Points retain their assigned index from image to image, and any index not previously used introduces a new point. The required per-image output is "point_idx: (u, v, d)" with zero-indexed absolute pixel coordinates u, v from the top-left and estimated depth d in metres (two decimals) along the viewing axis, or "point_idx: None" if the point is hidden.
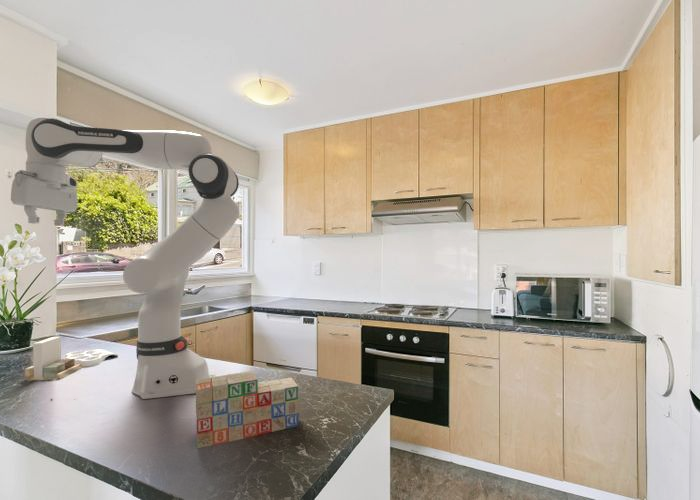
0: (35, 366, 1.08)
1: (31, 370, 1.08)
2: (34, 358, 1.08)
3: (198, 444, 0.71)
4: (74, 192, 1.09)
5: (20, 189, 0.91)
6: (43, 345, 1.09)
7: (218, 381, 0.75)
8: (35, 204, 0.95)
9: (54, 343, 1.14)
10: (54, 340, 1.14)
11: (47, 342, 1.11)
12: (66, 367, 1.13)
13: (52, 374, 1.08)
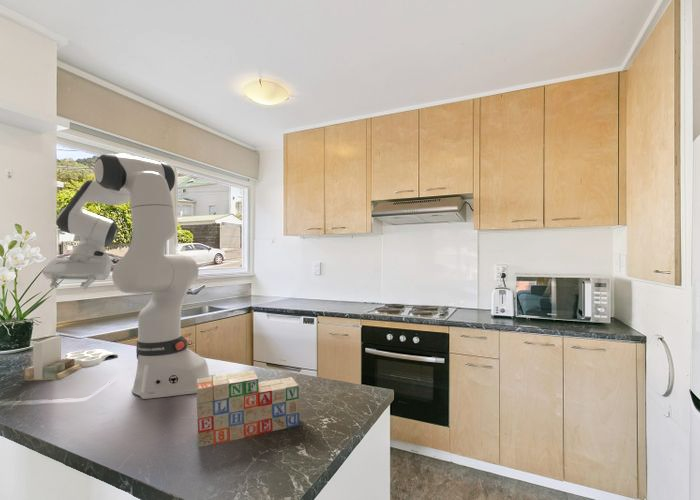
0: (35, 366, 1.08)
1: (31, 370, 1.08)
2: (34, 358, 1.08)
3: (199, 443, 0.72)
4: (102, 260, 1.30)
5: None
6: (43, 345, 1.09)
7: (219, 381, 0.75)
8: (52, 272, 1.24)
9: (54, 343, 1.14)
10: (54, 340, 1.14)
11: (47, 342, 1.11)
12: (66, 367, 1.13)
13: (52, 374, 1.08)
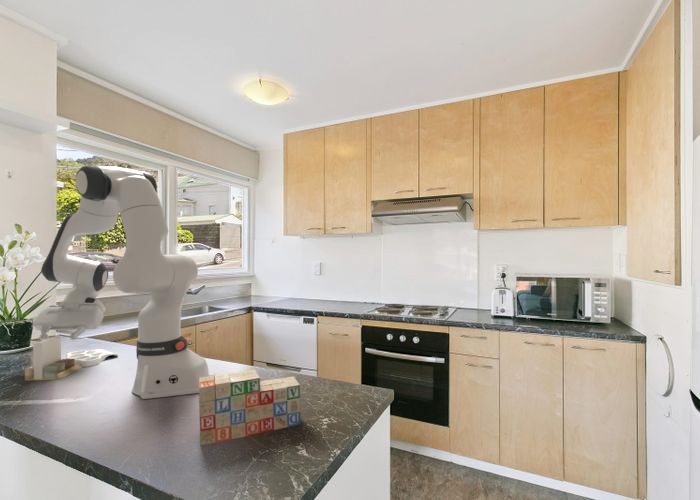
0: (35, 366, 1.08)
1: (31, 370, 1.08)
2: (34, 358, 1.08)
3: (201, 441, 0.72)
4: (93, 308, 1.23)
5: None
6: (43, 345, 1.09)
7: (221, 380, 0.75)
8: (42, 324, 1.18)
9: (54, 343, 1.14)
10: (54, 340, 1.14)
11: (47, 342, 1.11)
12: (66, 367, 1.13)
13: (52, 374, 1.08)
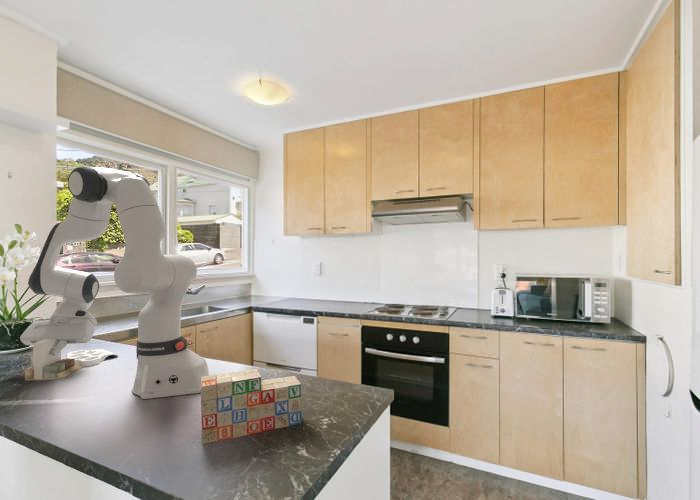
0: (35, 366, 1.08)
1: (31, 370, 1.08)
2: (34, 358, 1.08)
3: (203, 440, 0.73)
4: (84, 321, 1.18)
5: None
6: (43, 345, 1.09)
7: (223, 379, 0.76)
8: (30, 338, 1.13)
9: (54, 343, 1.14)
10: (54, 340, 1.14)
11: (47, 342, 1.11)
12: (66, 367, 1.13)
13: (52, 374, 1.08)
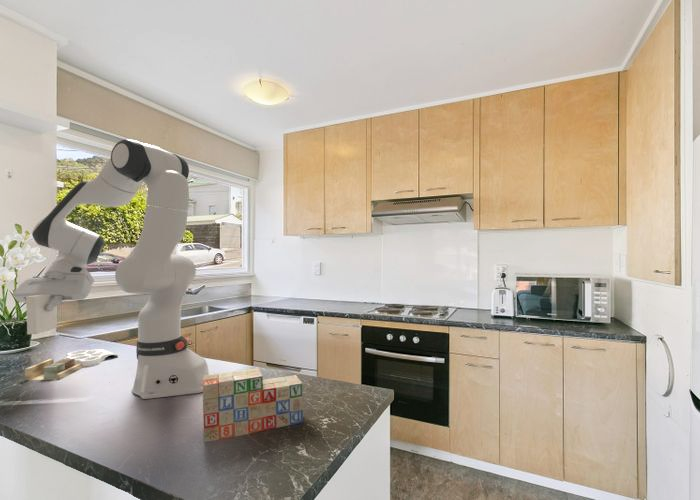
0: (28, 321, 1.02)
1: (31, 370, 1.08)
2: (27, 312, 1.02)
3: (205, 438, 0.73)
4: (80, 277, 1.12)
5: None
6: (37, 299, 1.03)
7: (225, 378, 0.77)
8: (23, 294, 1.08)
9: (49, 299, 1.08)
10: (49, 295, 1.08)
11: (41, 296, 1.05)
12: (66, 367, 1.13)
13: (52, 374, 1.08)
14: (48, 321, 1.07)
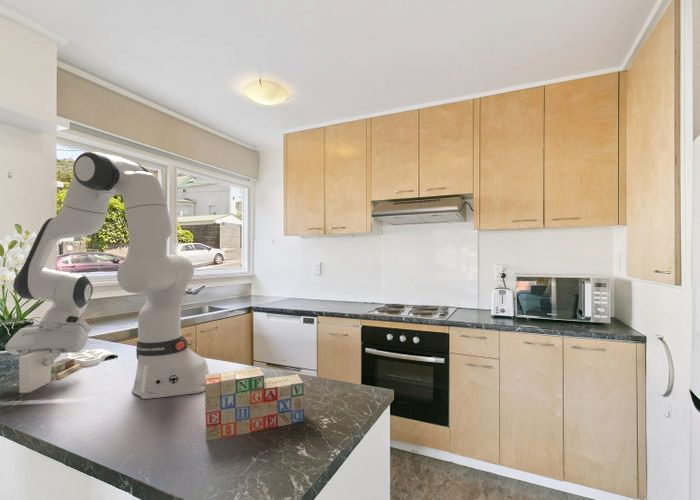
0: (21, 382, 0.98)
1: None
2: (20, 373, 0.98)
3: (207, 436, 0.74)
4: (76, 328, 1.08)
5: None
6: (30, 359, 0.99)
7: (226, 377, 0.77)
8: (16, 347, 1.03)
9: (43, 356, 1.03)
10: (43, 353, 1.03)
11: (35, 355, 1.00)
12: (66, 367, 1.13)
13: (52, 374, 1.08)
14: (42, 380, 1.03)
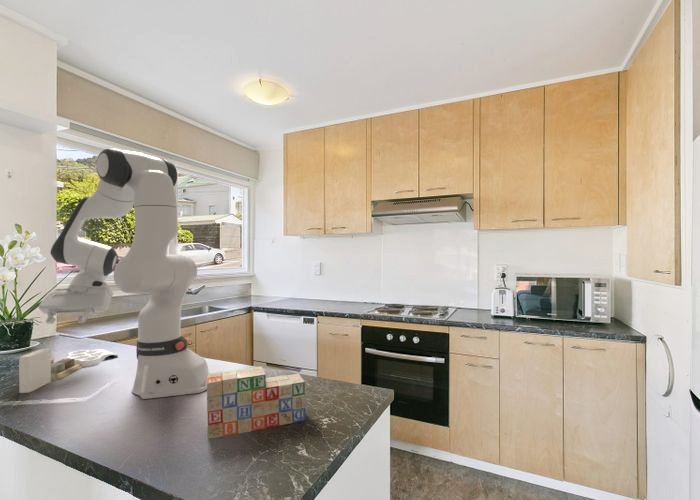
0: (21, 382, 0.98)
1: None
2: (20, 373, 0.98)
3: (209, 435, 0.75)
4: (101, 291, 1.20)
5: None
6: (30, 359, 0.99)
7: (228, 376, 0.78)
8: (48, 307, 1.16)
9: (43, 356, 1.03)
10: (43, 353, 1.03)
11: (35, 355, 1.00)
12: (66, 367, 1.13)
13: (52, 374, 1.08)
14: (42, 380, 1.03)
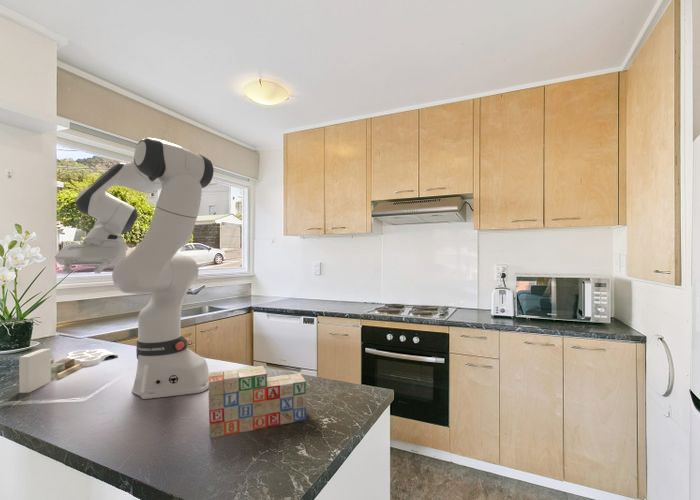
0: (21, 382, 0.98)
1: None
2: (20, 373, 0.98)
3: (210, 434, 0.75)
4: (116, 244, 1.21)
5: None
6: (30, 359, 0.99)
7: (230, 375, 0.78)
8: (65, 257, 1.16)
9: (43, 356, 1.03)
10: (43, 353, 1.03)
11: (35, 355, 1.00)
12: (66, 367, 1.13)
13: (52, 374, 1.08)
14: (42, 380, 1.03)
